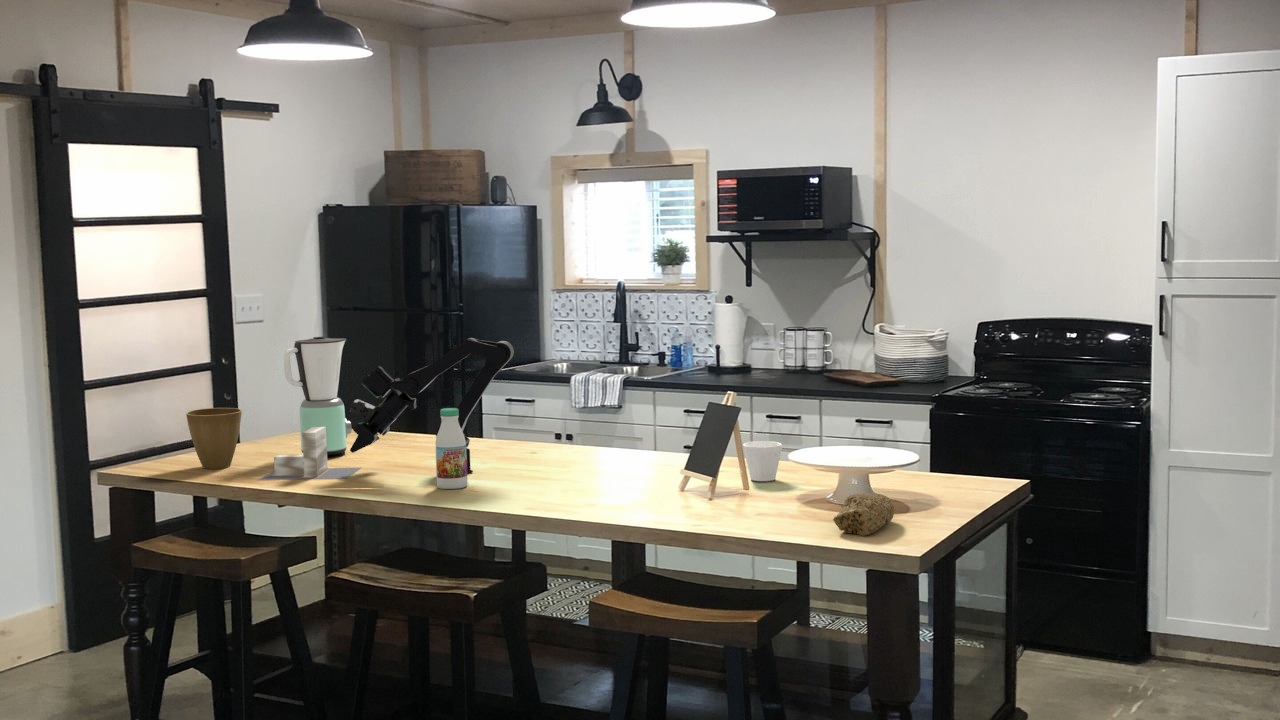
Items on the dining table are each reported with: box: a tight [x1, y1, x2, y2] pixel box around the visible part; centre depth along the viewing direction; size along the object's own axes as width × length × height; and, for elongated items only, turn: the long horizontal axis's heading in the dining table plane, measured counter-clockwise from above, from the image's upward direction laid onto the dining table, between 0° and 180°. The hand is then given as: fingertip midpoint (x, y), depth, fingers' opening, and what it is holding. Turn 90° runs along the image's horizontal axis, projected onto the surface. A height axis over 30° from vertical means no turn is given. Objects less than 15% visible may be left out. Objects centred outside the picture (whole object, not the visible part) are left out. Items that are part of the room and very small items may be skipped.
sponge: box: [832, 492, 896, 537], centre depth 268 cm, size 13×8×20 cm
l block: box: [273, 427, 329, 477], centre depth 341 cm, size 12×10×12 cm
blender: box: [283, 336, 353, 457], centre depth 371 cm, size 19×13×35 cm
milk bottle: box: [435, 407, 469, 490], centre depth 320 cm, size 8×8×20 cm
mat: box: [257, 467, 362, 481], centre depth 341 cm, size 24×16×1 cm, turn 88°
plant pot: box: [185, 407, 243, 470], centre depth 357 cm, size 15×15×16 cm
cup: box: [742, 440, 783, 483], centre depth 319 cm, size 10×10×9 cm
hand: (351, 451), depth 341 cm, fingers closed
